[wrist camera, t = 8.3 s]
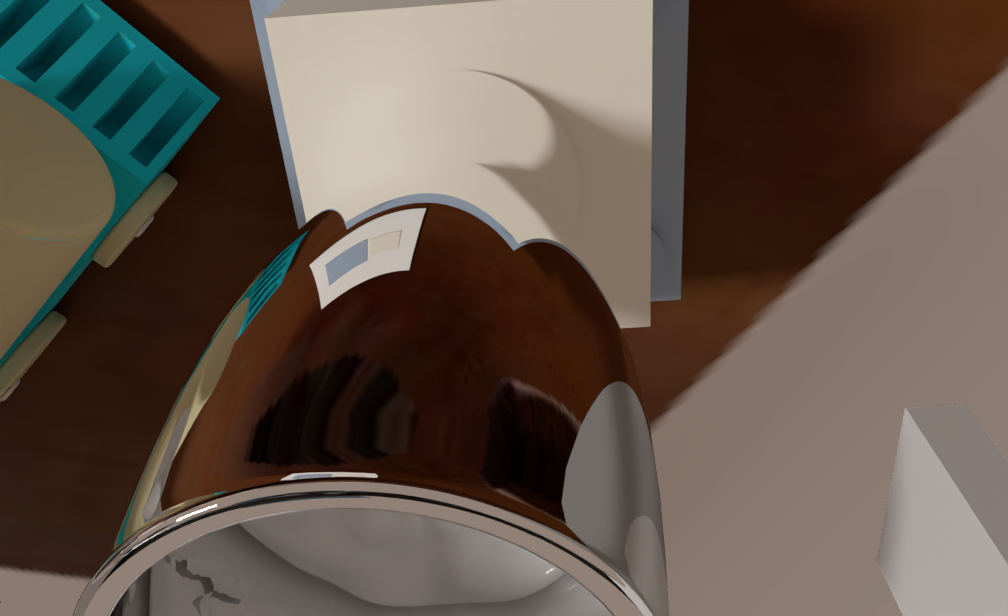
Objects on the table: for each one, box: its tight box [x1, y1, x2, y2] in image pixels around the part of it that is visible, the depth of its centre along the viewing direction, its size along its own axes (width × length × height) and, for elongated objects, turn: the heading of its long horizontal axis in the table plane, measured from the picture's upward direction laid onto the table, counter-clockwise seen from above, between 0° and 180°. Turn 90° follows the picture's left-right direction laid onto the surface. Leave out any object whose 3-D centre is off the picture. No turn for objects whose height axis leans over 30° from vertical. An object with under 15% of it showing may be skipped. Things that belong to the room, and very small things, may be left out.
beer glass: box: [73, 70, 669, 616], centre depth 16 cm, size 7×7×15 cm
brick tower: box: [250, 0, 689, 328], centre depth 26 cm, size 12×12×8 cm
